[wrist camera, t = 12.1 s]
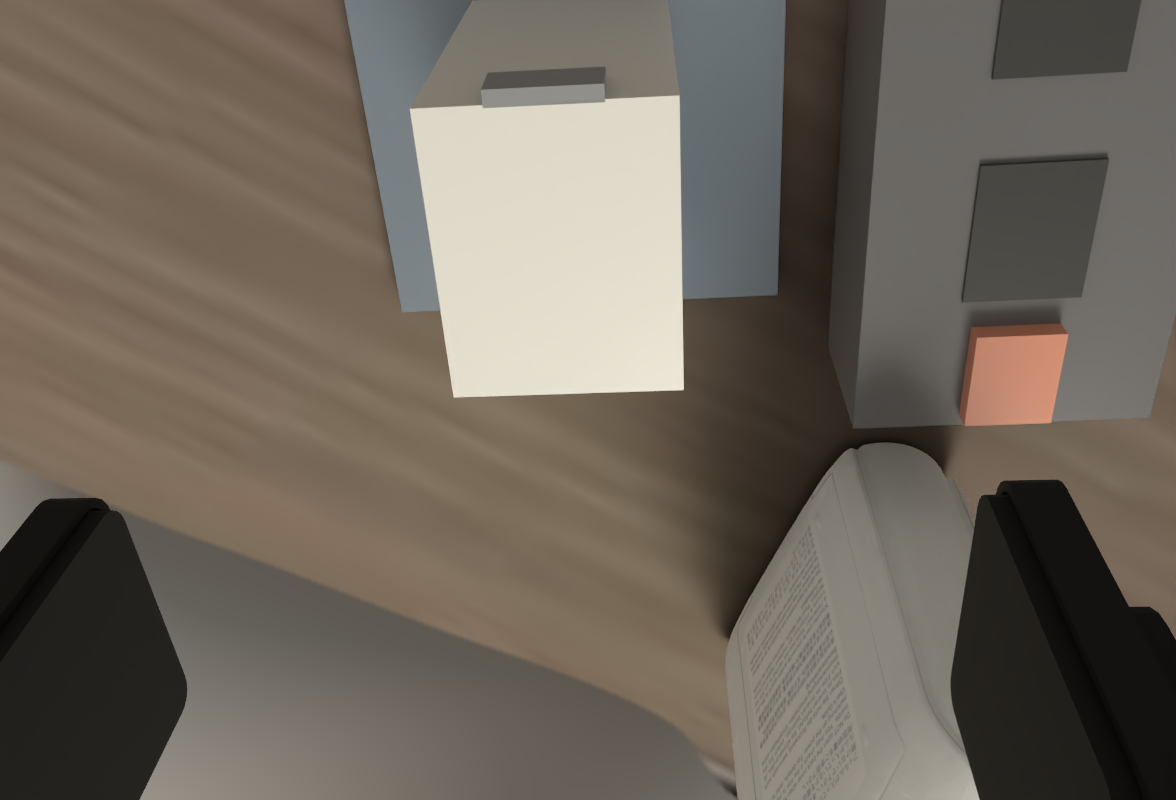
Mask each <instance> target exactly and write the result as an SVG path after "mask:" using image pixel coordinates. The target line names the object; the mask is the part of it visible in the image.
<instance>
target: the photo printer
mask: <svg viewBox="0 0 1176 800" xmlns="http://www.w3.org/2000/svg"><path fill="white" fill-rule="evenodd" d="M974 527H975V520H974V518H973V515H972V513H971V511H970V508H969V506H968V503H967V501H966V499H965V496H964V494H963V492H962V491H961V489H960V487H959V486H958V484H957V483H956V482H955V480H953V479H950V478H946V477H945V476H944V474H943V472H942V470H941V468H940V467H939V465H938V464H937V463H936V462H935V461H934V460H933V459H932V458H931V457H930V456H929V455H927V454H926V453H924V452H922V451H921V450H918V449H916V448H913V447H911V446H907V445H904V444H898V443H889V442H882V443H872V444H866V445H863V446H861V447H860V448H859V449H858V450H856V449H853V448H849V449H848V450H846V451H845V452H844V453H843V454H842V455H841V456H840V457H839V458H838V459H837V461H836V462H835V463H834V464H833V465H832V467H831V468H830V469H829V470H828V471H827V473H826V474H825V475H824V476H823V478H822V479H821V481H820V483H819V484H818V486H817V487H816V489H815V490H814V492H813V493H812V495H811V497H810V498H809V500H808V501H807V503H806V504H805V506H804V507H803V509H802V511H801V512H800V514H799V516H798V517H797V519H796V521H795V522H794V524H793V525H792V527H791V529H790V530H789V532H788V533H787V535H786V537H785V538H784V540H783V542H782V544H781V545H780V547H779V549H778V550H777V552H776V554H775V555H774V557H773V559H772V560H771V562H770V564H769V565H768V567H767V569H766V571H765V572H764V574H763V576H762V577H761V579H760V581H759V582H758V584H757V586H756V588H755V589H754V591H753V593H752V594H751V596H750V597H749V599H748V601H747V603H746V605H745V607H744V609H743V611H742V613H741V615H740V617H739V619H738V621H737V623H736V625H735V627H734V629H733V631H732V634H731V636H730V640H729V643H728V647H727V651H726V659H725V671H726V682H727V692H728V701H729V711H730V722H731V732H732V743H733V754H734V764H735V775H736V786H737V796H738V800H980V799H979V796H978V792H977V789H976V785H975V782H974V779H973V775H972V772H971V768H970V765H969V762H968V758H967V755H966V751H965V748H964V744H963V741H962V738H961V734H960V731H959V727H958V724H957V721H956V717H955V714H954V710H953V706H952V699H951V688H950V680H951V671H952V664H953V658H954V652H955V646H956V639H957V633H958V627H959V621H960V614H961V608H962V602H963V595H964V589H965V583H966V577H967V570H968V564H969V558H970V552H971V545H972V539H973V533H974Z"/></svg>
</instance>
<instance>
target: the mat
mask: <svg viewBox="0 0 1176 800" xmlns="http://www.w3.org/2000/svg"><path fill="white" fill-rule="evenodd" d="M344 2H345V8H346V13H347V18H348V24H349V29H350V34H351V40H352V45H353V51H354V56H355V61H356V67H357V72H358V77H359V83H360V88H361V94H362V99H363V104H364V110H365V115H366V120H367V126H368V131H369V137H370V142H371V147H372V153H373V158H374V163H375V169H376V174H377V180H378V185H379V190H380V196H381V201H382V206H383V212H384V217H385V223H386V228H387V233H388V239H389V244H390V249H391V255H392V260H393V266H394V271H395V276H396V282H397V287H398V292H399V298H400V303H401V309H402V312H418V311H440V304H439V297H438V291H437V284H436V278H435V271H434V265H433V258H432V252H431V245H430V239H429V232H428V225H427V219H426V212H425V206H424V199H423V193H422V186H421V180H420V173H419V167H418V160H417V154H416V147H415V140H414V134H413V127H412V121H411V114H410V107H411V106H412V104H413V102H414V100H415V99H416V97H417V95H418V94H419V92H420V90H421V88H422V87H423V85H424V83H425V81H426V80H427V78H428V76H429V75H430V73H431V71H432V69H433V68H434V66H435V64H436V62H437V61H438V59H439V57H440V56H441V54H442V52H443V50H444V49H445V47H446V45H447V44H448V42H449V40H450V38H451V37H452V35H453V33H454V31H455V30H456V28H457V26H458V25H459V23H460V21H461V19H462V18H463V16H464V14H465V12H466V11H467V9H468V7H469V6H470V4H471V2H472V0H344ZM668 5H669V13H670V21H671V29H672V37H673V46H674V54H675V62H676V70H677V79H678V87H679V95H680V162H681V232H682V299H701V298H723V297H745V296H767V295H777V293H778V259H779V224H780V189H781V154H782V119H783V85H784V50H785V15H786V0H668Z"/></svg>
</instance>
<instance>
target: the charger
mask: <svg viewBox="0 0 1176 800" xmlns="http://www.w3.org/2000/svg"><path fill="white" fill-rule="evenodd" d="M410 114H411V121H412V127H413V134H414V140H415V147H416V154H417V160H418V167H419V173H420V180H421V186H422V193H423V199H424V206H425V212H426V219H427V225H428V232H429V239H430V245H431V252H432V258H433V265H434V271H435V278H436V284H437V291H438V297H439V304H440V311H441V317H442V324H443V330H444V337H445V343H446V350H447V356H448V363H449V369H450V376H451V382H452V389H453V396H454V397H481V396H513V395H544V394H576V393H607V392H638V391H670V390H684V374H683V303H682V232H681V162H680V95H679V87H678V79H677V70H676V62H675V54H674V46H673V37H672V29H671V21H670V13H669V5H668V0H472V2H471V4H470V6H469V7H468V9H467V11H466V12H465V14H464V16H463V18H462V19H461V21H460V23H459V25H458V26H457V28H456V30H455V31H454V33H453V35H452V37H451V38H450V40H449V42H448V44H447V45H446V47H445V49H444V50H443V52H442V54H441V56H440V57H439V59H438V61H437V62H436V64H435V66H434V68H433V69H432V71H431V73H430V75H429V76H428V78H427V80H426V81H425V83H424V85H423V87H422V88H421V90H420V92H419V94H418V95H417V97H416V99H415V100H414V102H413V104H412V106H411V107H410Z"/></svg>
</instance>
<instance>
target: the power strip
mask: <svg viewBox="0 0 1176 800" xmlns="http://www.w3.org/2000/svg"><path fill="white" fill-rule="evenodd" d="M1175 315H1176V0H848V16H847V33H846V50H845V66H844V83H843V100H842V117H841V134H840V151H839V168H838V185H837V202H836V219H835V236H834V253H833V270H832V286H831V303H830V320H829V337H828V349H829V352H830V356H831V359H832V362H833V365H834V369H835V372H836V375H837V378H838V382H839V385H840V388H841V391H842V394H843V398H844V401H845V404H846V407H847V411H848V414H849V417H850V420H851V424H852V427H853V429H859V428H886V427H913V426H940V425H964V426H982V425H1009V424H1036V423H1051V421H1074V420H1101V419H1128V418H1149V416H1150V412H1151V408H1152V404H1153V400H1154V396H1155V392H1156V389H1157V385H1158V381H1159V377H1160V373H1161V369H1162V365H1163V361H1164V357H1165V354H1166V350H1167V346H1168V342H1169V338H1170V334H1171V330H1172V326H1173V323H1174V319H1175Z"/></svg>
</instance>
